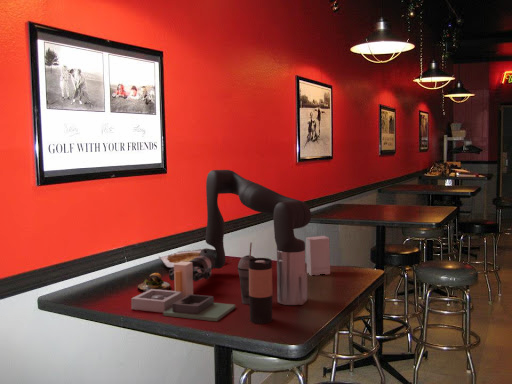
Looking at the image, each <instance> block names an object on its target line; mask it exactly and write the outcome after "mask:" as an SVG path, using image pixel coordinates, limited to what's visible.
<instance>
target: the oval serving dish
mask: <svg viewBox="0 0 512 384" xmlns="http://www.w3.org/2000/svg"><path fill="white" fill-rule="evenodd" d="M202 249H203V248H202ZM202 249H201V248H198V249H193V250H182V251H180V250H179V251H177V252H176V253H171V254H167V255H163V256H158V258H159V259H160V261H161V263H163V264H164V266H165V267H167V268H170V269H173V268H174V264H176V263H179V262H181V261H182V262H189V261H191V260H192V259H194V258H196V257H198V256H199V255H200V252H201V250H202Z"/></svg>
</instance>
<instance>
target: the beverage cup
mask: <svg viewBox="0 0 512 384" xmlns="http://www.w3.org/2000/svg"><path fill="white" fill-rule="evenodd" d="M252 244H253V243H252V242H250V243H249V253H248V255H244V256H242V257H241V258H240V260H239V261H238V265H237V272H238V275H239V284H240V294H241V295H240V296H241V300H242V301H241V303H242V304H244V305H249V260H250V259H253V258H256V257H255V256H253V255H252V247H253V246H252Z"/></svg>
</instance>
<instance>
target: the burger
mask: <svg viewBox="0 0 512 384" xmlns="http://www.w3.org/2000/svg"><path fill="white" fill-rule="evenodd" d="M158 270H159V269H157V270H156V272H154V273H151V274H150V275H149V279H147V278H145V279H144V281H143V282H142V283H139V284H138V285H137V286H136V287H137V290H139V289H140V290H141V291H144V292H146V291H148V290H150V289H158V290H169V291H170V290H171V289H172V288H171V284H170V282H167V281H164V280H163V279H162V278H163V277H162V275H161V274H160V273H159V272H158Z"/></svg>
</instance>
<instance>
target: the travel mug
mask: <svg viewBox="0 0 512 384" xmlns="http://www.w3.org/2000/svg"><path fill="white" fill-rule="evenodd" d="M272 262H273V260H272V259H271V258H269V257H255V258H253V259H250V260H249V304H248V306H249V320H250V322H251V323H253V324H258V325H262V324H263V325H264V324H265V325H266V324H269V323H271V322H272V321H273V265H272V264H273V263H272Z"/></svg>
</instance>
